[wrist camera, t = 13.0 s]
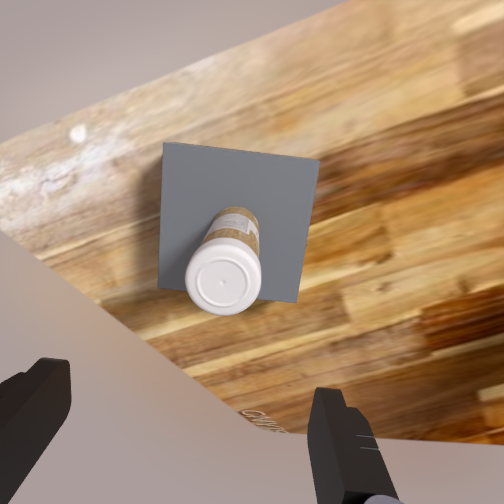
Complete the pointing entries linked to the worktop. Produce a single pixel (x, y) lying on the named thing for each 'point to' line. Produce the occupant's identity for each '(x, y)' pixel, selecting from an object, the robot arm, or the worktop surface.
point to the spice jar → (226, 264)
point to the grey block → (236, 195)
